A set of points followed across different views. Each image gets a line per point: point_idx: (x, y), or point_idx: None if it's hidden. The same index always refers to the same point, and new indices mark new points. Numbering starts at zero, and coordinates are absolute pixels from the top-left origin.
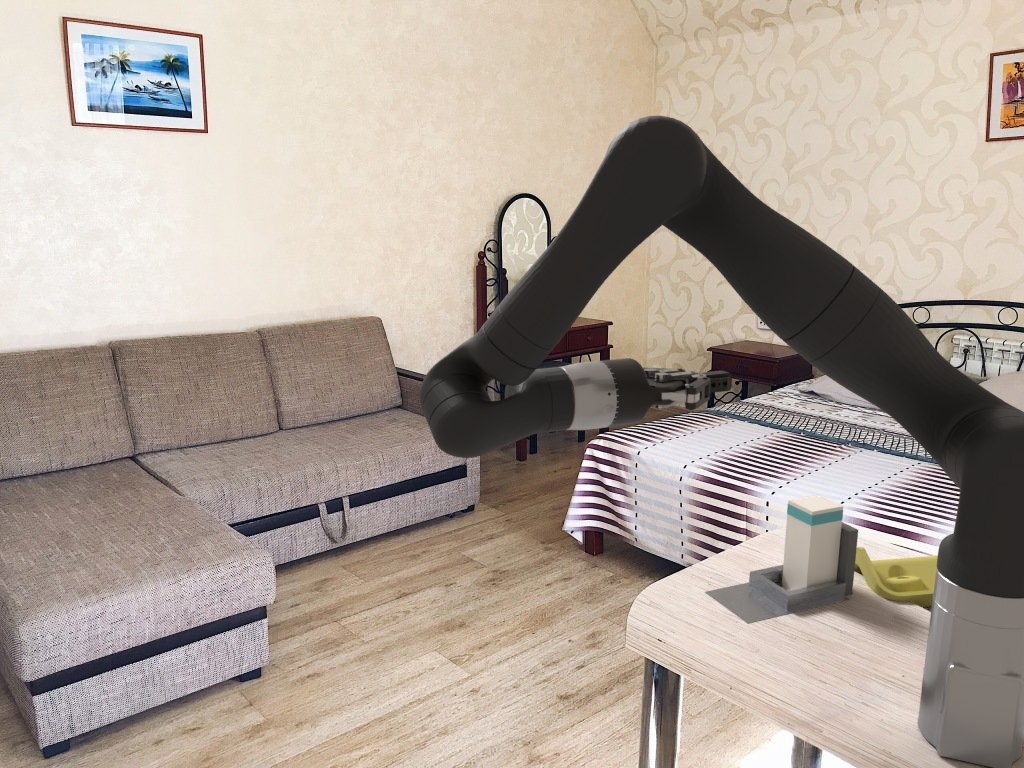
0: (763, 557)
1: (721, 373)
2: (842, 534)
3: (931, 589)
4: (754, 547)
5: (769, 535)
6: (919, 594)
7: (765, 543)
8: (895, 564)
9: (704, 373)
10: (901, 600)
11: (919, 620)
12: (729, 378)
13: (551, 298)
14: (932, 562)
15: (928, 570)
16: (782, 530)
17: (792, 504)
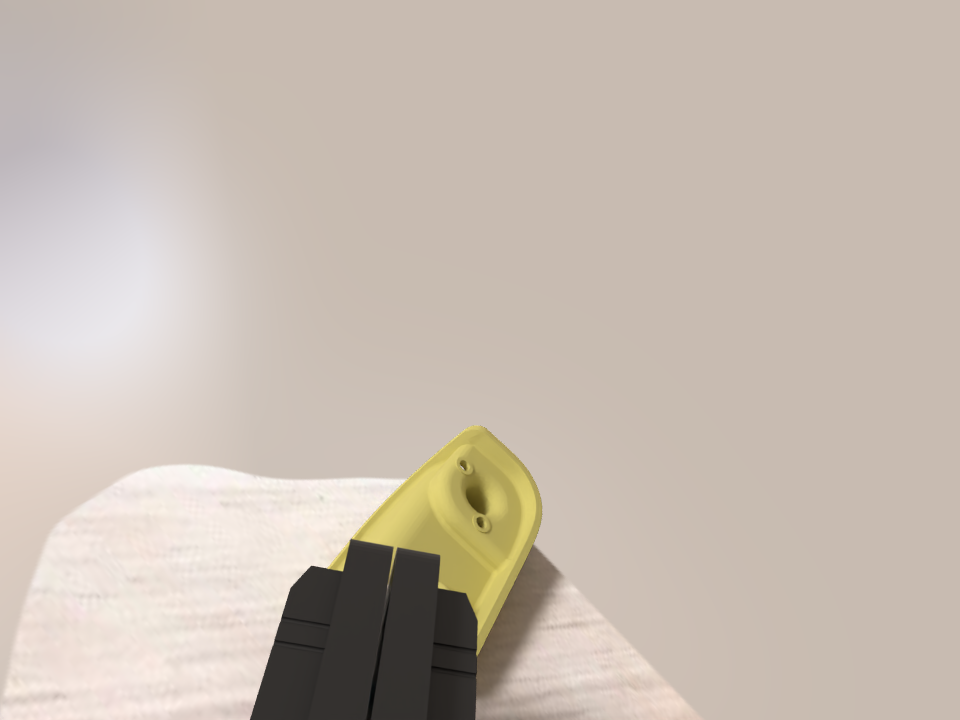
0: (92, 712)
1: (431, 612)
2: None
3: (457, 589)
4: (36, 684)
5: (29, 604)
6: (487, 634)
7: (47, 645)
8: (389, 574)
9: (355, 716)
10: None
11: (502, 683)
12: (467, 608)
13: None
14: (424, 528)
15: (430, 551)
16: (42, 562)
17: None
